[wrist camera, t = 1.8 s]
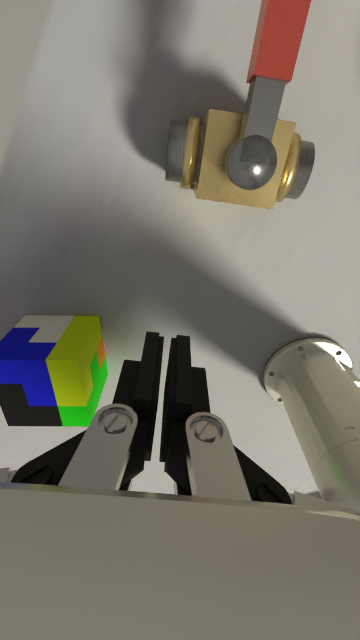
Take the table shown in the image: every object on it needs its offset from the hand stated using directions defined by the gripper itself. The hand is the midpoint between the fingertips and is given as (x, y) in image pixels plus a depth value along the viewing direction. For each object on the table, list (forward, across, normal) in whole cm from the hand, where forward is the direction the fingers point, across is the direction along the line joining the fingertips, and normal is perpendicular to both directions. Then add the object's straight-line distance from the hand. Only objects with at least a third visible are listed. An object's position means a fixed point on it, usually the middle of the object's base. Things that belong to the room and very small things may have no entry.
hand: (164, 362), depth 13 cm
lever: (+17, -5, -13) cm, 22 cm away
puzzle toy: (+25, +13, +18) cm, 34 cm away
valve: (+25, -5, -8) cm, 27 cm away
